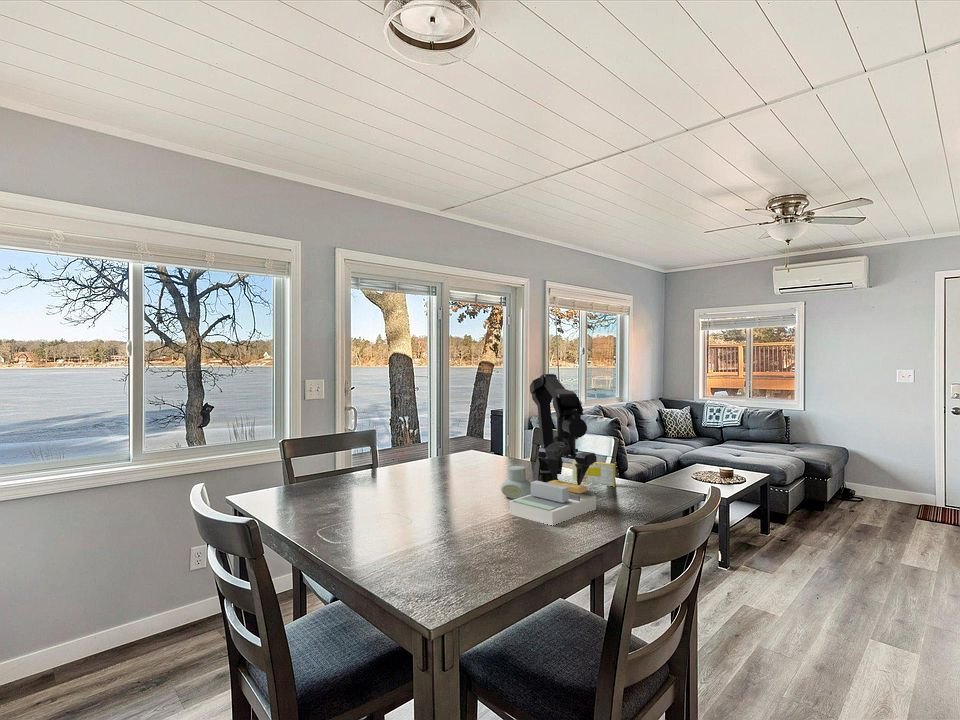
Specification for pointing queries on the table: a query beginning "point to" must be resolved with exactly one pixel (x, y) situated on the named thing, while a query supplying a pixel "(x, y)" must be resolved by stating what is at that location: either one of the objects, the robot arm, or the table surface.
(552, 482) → the yellow rectangular block
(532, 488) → the grey rectangular block
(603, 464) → the candy box
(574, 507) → the breaker box
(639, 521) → the table surface
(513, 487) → the air freshener
